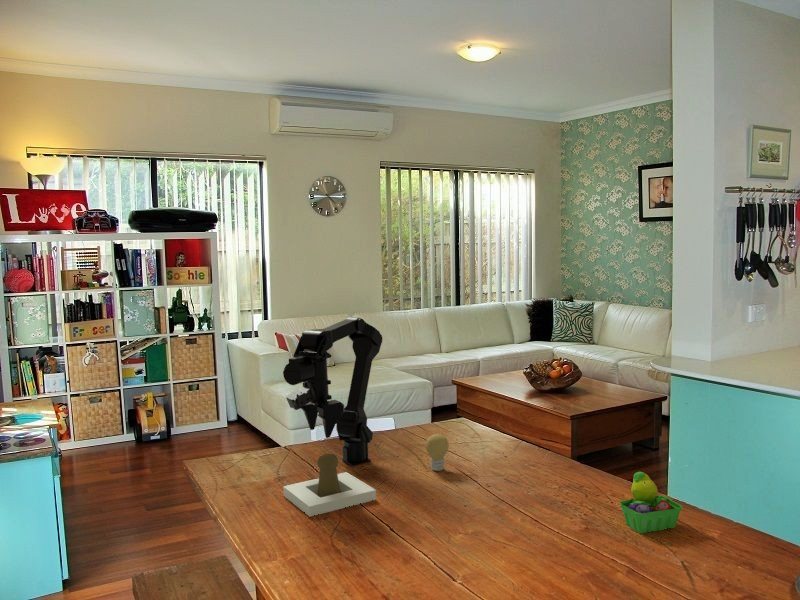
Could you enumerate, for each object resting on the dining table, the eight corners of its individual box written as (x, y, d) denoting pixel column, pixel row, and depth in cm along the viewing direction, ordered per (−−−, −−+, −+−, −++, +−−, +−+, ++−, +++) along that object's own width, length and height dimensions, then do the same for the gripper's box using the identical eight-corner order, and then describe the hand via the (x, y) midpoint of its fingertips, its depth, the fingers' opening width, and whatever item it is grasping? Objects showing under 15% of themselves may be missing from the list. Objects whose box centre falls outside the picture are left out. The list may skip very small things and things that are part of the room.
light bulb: (449, 465, 192) (448, 431, 191) (448, 473, 185) (448, 438, 184) (426, 465, 192) (426, 431, 191) (425, 473, 186) (424, 438, 185)
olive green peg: (312, 500, 169) (310, 457, 168) (326, 491, 174) (324, 450, 173) (332, 503, 166) (330, 460, 165) (345, 495, 171) (344, 453, 170)
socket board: (346, 481, 182) (346, 472, 181) (376, 499, 168) (375, 489, 168) (283, 495, 172) (283, 486, 172) (309, 516, 159) (309, 506, 158)
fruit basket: (638, 537, 144) (638, 485, 143) (614, 521, 152) (614, 472, 151) (684, 529, 147) (684, 479, 146) (658, 514, 155) (658, 466, 154)
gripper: (274, 375, 184) (278, 431, 186) (304, 388, 169) (308, 448, 170) (311, 369, 190) (314, 423, 192) (343, 381, 175) (346, 439, 177)
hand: (319, 433), depth 183 cm, fingers open, 9 cm apart
